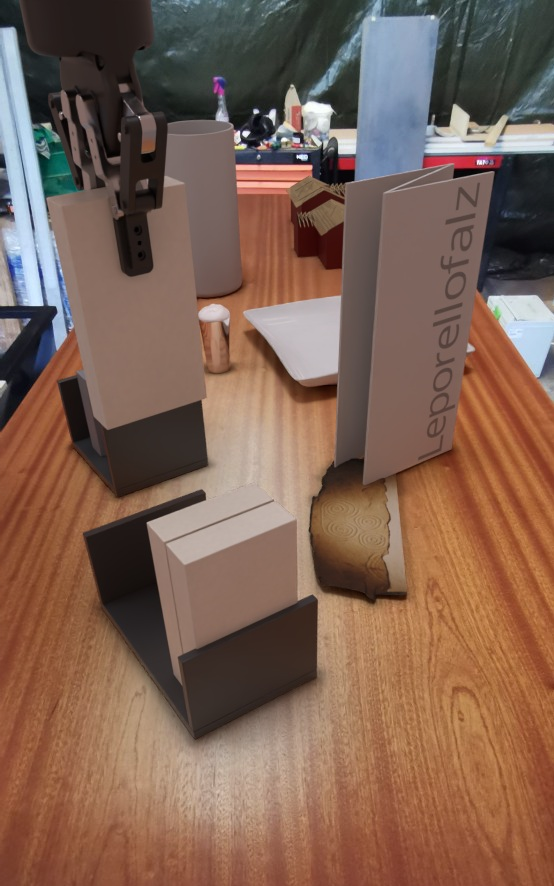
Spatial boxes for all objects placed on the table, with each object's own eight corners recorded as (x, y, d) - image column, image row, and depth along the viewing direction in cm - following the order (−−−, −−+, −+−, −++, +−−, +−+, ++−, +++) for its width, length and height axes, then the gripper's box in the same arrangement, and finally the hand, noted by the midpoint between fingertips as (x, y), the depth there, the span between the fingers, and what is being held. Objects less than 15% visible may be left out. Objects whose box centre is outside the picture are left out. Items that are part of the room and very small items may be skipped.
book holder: (194, 740, 59) (167, 578, 48) (101, 607, 71) (61, 453, 60) (317, 676, 64) (319, 515, 52) (210, 562, 76) (192, 411, 64)
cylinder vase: (166, 297, 132) (145, 135, 115) (184, 274, 141) (168, 120, 124) (234, 300, 130) (223, 135, 113) (248, 276, 139) (240, 120, 122)
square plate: (475, 373, 106) (479, 347, 103) (295, 405, 100) (295, 378, 98) (396, 307, 125) (398, 283, 123) (242, 331, 120) (240, 306, 117)
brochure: (364, 486, 84) (385, 193, 65) (333, 467, 88) (344, 183, 68) (451, 449, 91) (494, 171, 71) (419, 432, 94) (452, 163, 75)
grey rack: (117, 497, 85) (99, 410, 77) (72, 446, 94) (52, 364, 86) (208, 465, 90) (199, 380, 82) (157, 419, 98) (145, 339, 91)
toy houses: (278, 221, 165) (277, 169, 158) (368, 214, 167) (370, 163, 160) (316, 291, 132) (316, 230, 125) (427, 282, 134) (433, 221, 127)
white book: (107, 430, 58) (61, 206, 47) (93, 416, 59) (45, 197, 49) (207, 398, 61) (185, 182, 51) (191, 386, 63) (166, 175, 52)
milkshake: (199, 362, 111) (192, 294, 105) (234, 362, 111) (230, 294, 104) (196, 375, 108) (188, 306, 101) (232, 375, 108) (227, 306, 101)
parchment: (407, 601, 70) (408, 594, 69) (304, 596, 70) (304, 590, 70) (395, 466, 89) (396, 459, 88) (314, 463, 89) (314, 456, 88)
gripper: (-26, -50, 44) (44, 253, 56) (58, -53, 36) (120, 308, 47) (90, -55, 47) (133, 234, 59) (195, -59, 38) (222, 282, 50)
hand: (128, 266), depth 53 cm, fingers closed on white book, 3 cm apart
